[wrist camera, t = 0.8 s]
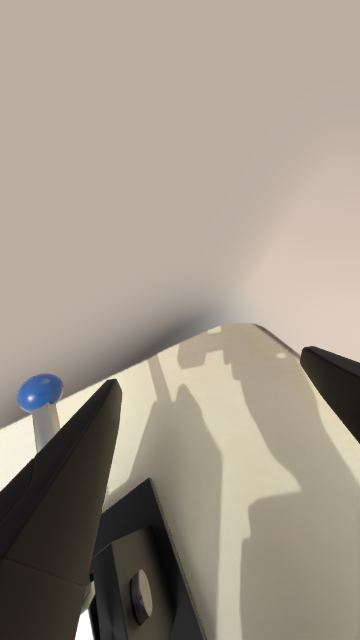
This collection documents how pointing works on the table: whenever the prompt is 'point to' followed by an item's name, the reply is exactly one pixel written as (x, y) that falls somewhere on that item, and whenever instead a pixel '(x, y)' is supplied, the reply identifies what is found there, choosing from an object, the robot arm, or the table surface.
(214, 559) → the table surface
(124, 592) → the black lever base
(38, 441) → the tap lever
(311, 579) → the table surface
